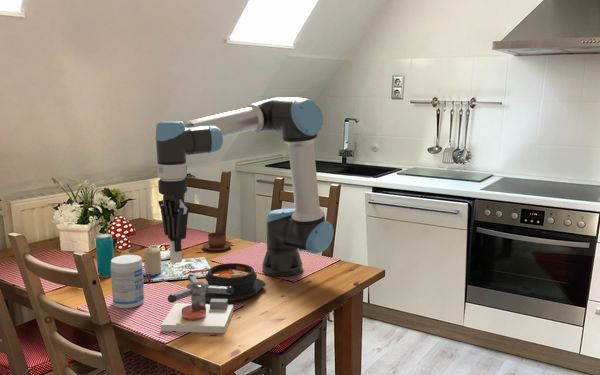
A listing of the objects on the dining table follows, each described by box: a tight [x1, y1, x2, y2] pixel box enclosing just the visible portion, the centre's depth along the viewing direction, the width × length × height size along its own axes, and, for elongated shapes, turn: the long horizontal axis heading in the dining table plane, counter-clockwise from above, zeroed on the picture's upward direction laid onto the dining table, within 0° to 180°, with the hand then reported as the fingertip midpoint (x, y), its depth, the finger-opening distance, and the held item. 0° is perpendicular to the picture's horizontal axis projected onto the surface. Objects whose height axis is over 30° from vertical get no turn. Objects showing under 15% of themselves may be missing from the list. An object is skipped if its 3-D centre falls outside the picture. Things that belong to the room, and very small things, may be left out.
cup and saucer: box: [202, 231, 232, 252], centre depth 227 cm, size 12×12×6 cm
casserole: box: [204, 262, 267, 303], centre depth 178 cm, size 25×19×8 cm
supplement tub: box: [110, 254, 145, 309], centre depth 169 cm, size 10×10×15 cm
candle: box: [144, 245, 162, 275], centre depth 197 cm, size 6×6×10 cm
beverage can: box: [95, 233, 115, 279], centre depth 193 cm, size 6×6×15 cm
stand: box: [160, 299, 235, 334], centre depth 158 cm, size 18×15×4 cm
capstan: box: [167, 273, 234, 321], centre depth 155 cm, size 17×19×9 cm
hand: (176, 261), depth 150 cm, fingers closed
